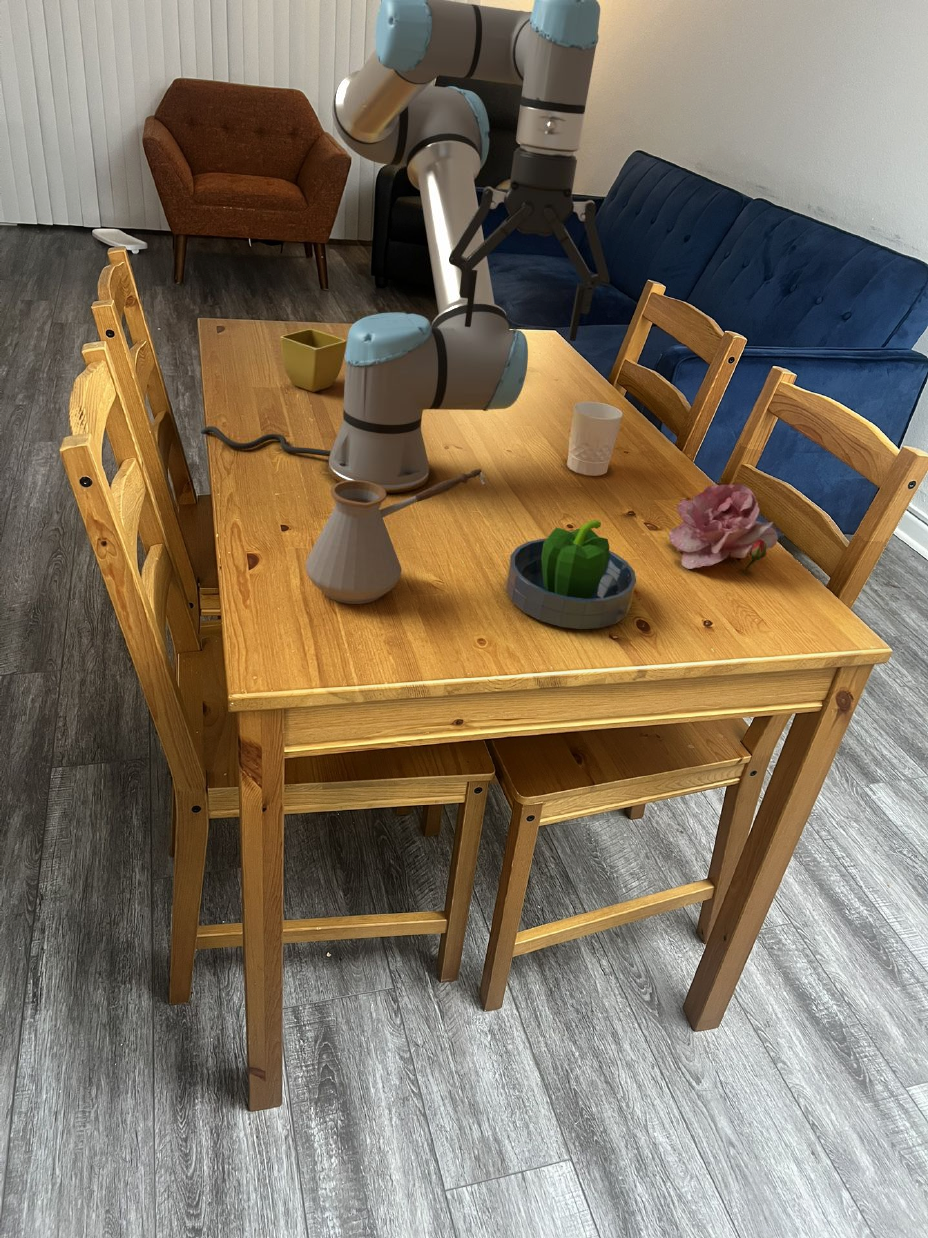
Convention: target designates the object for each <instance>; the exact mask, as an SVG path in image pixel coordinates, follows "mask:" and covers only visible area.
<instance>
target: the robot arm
mask: <svg viewBox="0 0 928 1238" xmlns="http://www.w3.org/2000/svg"><path fill="white" fill-rule="evenodd" d="M378 7H379V8H378V12H377V15H376V22H375V30H374V31H375V35H374V37H375V38H374V39H375V50H374V51H373V52H372V54H371V55H370V56H369V58H368V59H367V60H366V61H365V63H364V64H363V66H362V67H360V69H359V70H356V71H354V72H351V73H350V74H347V76H345V77H344V79H343V80H342V81H341V82H340V84H339V86H338V87H337V88H336V90H335V92H334V95H333V98H332V105H331V113H332V115H331V116H332V120H333V124H334V127H335V129H336V131H337V134H338V135H339V137H340V138H341V139H342V141H343V142H344V144H346V146H347V147H348V148H350V149H351V150H352V151H353V152H355V153H356V154H357V155H358V156H361V158H364V159H366V160H368V161H370V162H374V163H377V164H380V165H381V164H382V165H389V166H390V165H391V166H401V167H406V172H407V177H408V180H409V182H410V183H411V185H412V186H413V187H414V188H416V190H418V191H419V192H420V199H421V206H422V211H423V212H422V213H423V220H424V226H425V233H426V239H427V244H428V252H429V253H428V254H429V258H430V259H429V260H430V265H431V266H430V267H431V272H432V278H433V285H434V292H435V297H436V305H437V309H438V315H436V317H435V318H434V319H433V321H432V322H430V320H429V319H428V318H426V317H425V316H423V315H421V314H416V313H406V312H382V313H377V314H372V315H368V316H365V317H362V318H361V319H358V320H357V321H355V322H354V323H353V324H352V326H351V327H350V328H349V330H348V333H347V338H346V339H347V343H346V348H345V354H344V361H345V367H344V369H345V371H344V387H343V388H344V390H343V416H342V423H341V425H340V428H339V430H338V432H337V435H336V437H335V441H334V443H333V445H332V448H331V450H328V449H327V450H326V449H320V448H311V447H299V446H298V447H296V446H290V445H288V444H287V439H286V437H285V436H284V435H282V434H278V433H269V434H265V435H262V436H260V437H259V438H257V439H255V440H252V441H250V442H236V441H234V440H231V439H230V438H228V437H227V436H226V435H225V434H224V433H223V432H222V431H221V430H220V429H219V428H218V427H216V426H214V425H209V426H206V427H205V428H203V429H202V430H201V431H200V434H202V435H208V434H210V433H213V434H215V435H216V436H217V437H218V439H220V441H222V442H223V443H224V444H225V445H227V446H229V447H231V448H234V449H238V450H248V449H249V450H250V449H254V448H256V447H258V446H260V445H261V444H263V443H265V442H268V441H279V442H280V447H281V449H282V450H283V451H285V452H288V453H291V454H302V455H303V454H305V455H315V456H322V457H328V467H327V469H328V472H329V473H328V474H329V475H330V476H331V477H332V478H333V480H335V481H337V483H339V482H342V481H348V480H360V481H367V482H371V483H374V484H377V485H379V486H380V487H382V488H383V489H384V490H385V492H386V494H399V493H406V492H410V491H414V490H417V489H418V488H420V487H422V486H424V485H425V484H426V483H427V482H428V480H429V473H430V463H429V458H428V454H427V449H426V445H425V441H424V437H423V432H422V420H423V411H425V410H426V411H427V410H435V411H437V410H441V411H442V410H443V411H445V410H452V411H459V410H460V411H483V412H487V411H489V410H491V411H492V410H506V409H508V408H510V407H512V406H513V405H514V404H515V403H516V402H517V400H518V399H519V397H520V395H521V392H522V390H523V387H524V384H525V380H526V376H527V370H528V363H529V362H528V361H529V346H528V340H527V337H526V335H525V333H524V332H523V331H522V330H519V329H517V328H513V329H510V325H509V321H508V315H507V313H506V311H505V310H504V308H502V307H501V306H499V305H497V304H496V303H495V297H494V291H493V286H492V280H491V275H490V274H491V273H490V268H489V262H488V257H487V256H488V255H489V254H490V253H491V252H492V251H493V250H494V249H495V248H496V247H497V246H498V245H499V244H501V243H502V242H503V241H504V240H505V239H506V237H508V236H509V235H510V234H511V233H513V232H514V231H515V230H516V229H517V231H518V232H520V233H521V234H523V235H534V234H535V235H537V236H540V237H545V238H546V237H547V238H548V236H549V237H550V236H551V235H553V234H554V235H555V237H556V238H557V241H558V242H559V243H560V245H561V246H562V248H563V250H564V252H565V254H566V256H568V259H569V260H570V262H571V264H572V266H573V268H574V269H575V271H576V273H577V275H578V276H579V278H580V279H581V281H582V283H577V284H576V285H577V286H576V291H575V296H574V301H573V308H572V314H571V320H570V325H569V332H568V339H569V341H570V342H576V340H577V334H578V329H579V323H580V317H581V315H588V314H589V312H590V311H591V305H592V299H593V294H594V290H595V289H596V288H598V287H602V286H608V285H609V284H610V283H611V278H610V274H609V271H608V266H607V262H606V259H605V255H604V252H603V248H602V244H601V241H600V238H599V237H600V236H599V234H598V229H597V226H596V211H597V205H596V203H595V202H594V201H593V199H588V200H586V201H574V200H573V190H574V189H573V188H574V184H575V183H574V182H575V177H576V170H577V163H578V159H577V157H576V155H574V153H575V152H577V151H579V150H580V145H581V140H582V134H583V133H582V132H583V127H584V120H585V114H586V113H585V112H586V106H587V101H588V96H589V89H590V84H591V77H592V72H593V66H594V62H595V55H596V49H597V45H598V43H599V37H600V36H599V27H600V18H601V6H600V3H599V2H598V0H534V1H533V7H532V11H524V10H516V9H509V8H502V7H495V6H487V5H480V4H475V3H474V4H473V3H467V2H460V1H453V0H381V1H380V3H379V6H378ZM439 76H443V77H452V78H462V79H472V80H479V81H487V82H495V83H502V84H513V85H519V86H522V89H521V90H522V91H521V97H520V105H519V111H518V119H517V120H518V121H517V129H516V136H515V137H516V138H515V142H516V143H517V144H519V145H520V146H518V147H517V148H516V149H515V151H513V157H512V158H513V159H512V165H511V174H510V182H509V186H508V189H507V191H505V192H504V191H501V190H497V189H494V188H493V187H492V186H489V185H486V186H485V187H484V189H483V191H482V196H481V200H480V204H479V202H478V197H477V192H476V191H477V190H476V186H475V180H476V179H477V177H478V175H479V173H480V170H481V169H482V168H483V166H485V163H486V161H487V157H488V154H489V149H490V138H489V132H490V122H489V118H488V113H487V109H486V107H485V104H484V102H483V100H482V99H481V98H480V97H479V95H478V94H476V93H475V92H474V91H471V90H467V89H462V88H459V87H456V86H452V85H451V86H450V85H449V86H446V87H443V86H434V85H430V84H431V83H432V82H433V81H434V80H436V79H437V78H438V77H439ZM500 203H503V204H504V206H505V209H506V210H507V213H508V215H509V216H508V217H506V219H504V220H503V221H502V223H501V224H499V226H498V227H497V228H496V229H494V231H493V232H491V234H490V235H489V236H488V237H487V238H486V239H485V238H484V233H483V227H482V224H483V222H484V221H485V219H486V218H487V216H488V214H489V211H490V210H495V209H497V207H498V205H499V204H500ZM573 213H576V214H577V217H578V218H577V219H578V220H579V221H580V222H584V223H583V224H584V228H585V231H586V235H587V237H588V238H587V239H588V243H589V246H590V249H591V253H592V256H593V257H592V258H593V261H594V264H595V268H596V271H597V273H595V274H592V273H591V271H590V269H589V268H588V266H587V264H586V262H585V260H584V258H583V257H582V254H580V251H579V250H578V248H577V246H576V244H575V243H574V240H573V239H572V238H571V236H570V234H569V232H568V230H567V228H566V226H565V225H564V223H565V222H566V221H567V220H568V218H569V217H570V216H571V215H572V214H573Z"/></svg>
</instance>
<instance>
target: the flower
mask: <svg viewBox="0 0 928 1238" xmlns="http://www.w3.org/2000/svg"><path fill="white" fill-rule="evenodd" d="M676 511H677V512H678V515H679V517H680V519H681V521H682V522H681V524H679V525H678V526H677V527H675V528H673V529H671V530H670V531H669V533H668V537H669V542H670V543H671V544H672V546H674V547H676V549H677V550H676V551H678V552H682V556H681V559H680V563H681V566H682V567H684V568H685V569H687V570H689V569H692V570H693V569H696V568H697V569H700V568H702V567H703V566H704V567H710V566H713V565H715V564H719V563H720V562H722V561H723V560H725V559H726V558H728V557H729V556H730V557H732V558H736V559H744V558H745V559H746V557H747V556H748V555H749V556H751V560H750V561H749V562H748V564H747V566H746V567H745V570H744V573H746V572H747V571H748V569H750V567H751V566H752V565H753V564H754V563H755V562H756V561H759V560H761V559H762V558H764V557H766V556H767V550H768V549H769V550H770V549H774V547H775V546H776V545H777V543H778V541H779V535H778V532H777V530H775V529H774V528H773V527H772V526H774V524H775V521H770V522H764V523H763V522H761V521H759V520H757V518H759V515H760V508H759V502H758V500H757V497H756V495H755V494H754V492H753V491H752V489H750V488H749V487H748V486H746V485H745V484H742V483H739V484H721V485H719V484H712V485H708V486H706V487H705V489H704V490H703V491H702V492H700V493H697V495H695V496H693V497H692V499H691V500H688V499H684V498H682V499H681V502H680V503H679V504H677V505H676Z"/></svg>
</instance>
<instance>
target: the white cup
mask: <svg viewBox="0 0 928 1238" xmlns="http://www.w3.org/2000/svg"><path fill="white" fill-rule="evenodd" d="M623 413H624V412H622V410H621V409H619V408H618V407H616V406H613V405H611V404H607V403H603V402H598V401H580V402H577V403H575V404H574V405H573V410H572V416H571V417H572V418H571V424H570V431H569V441H568V453H567V454H568V455H567V462H566V466H567V467H568V468H569V470H571V471H573V472H574V473H577V474H580V475H584V476H590V477H591V476H592V477H599V476H603V475H605V474H607V473H608V469H609V465H610V461H611V458H612V457H613V452H614V449H615V445H616V442H617V439H618V438H617V437H618V435H619V431H620V426H621V424H622V419H623V415H624V414H623Z"/></svg>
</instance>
